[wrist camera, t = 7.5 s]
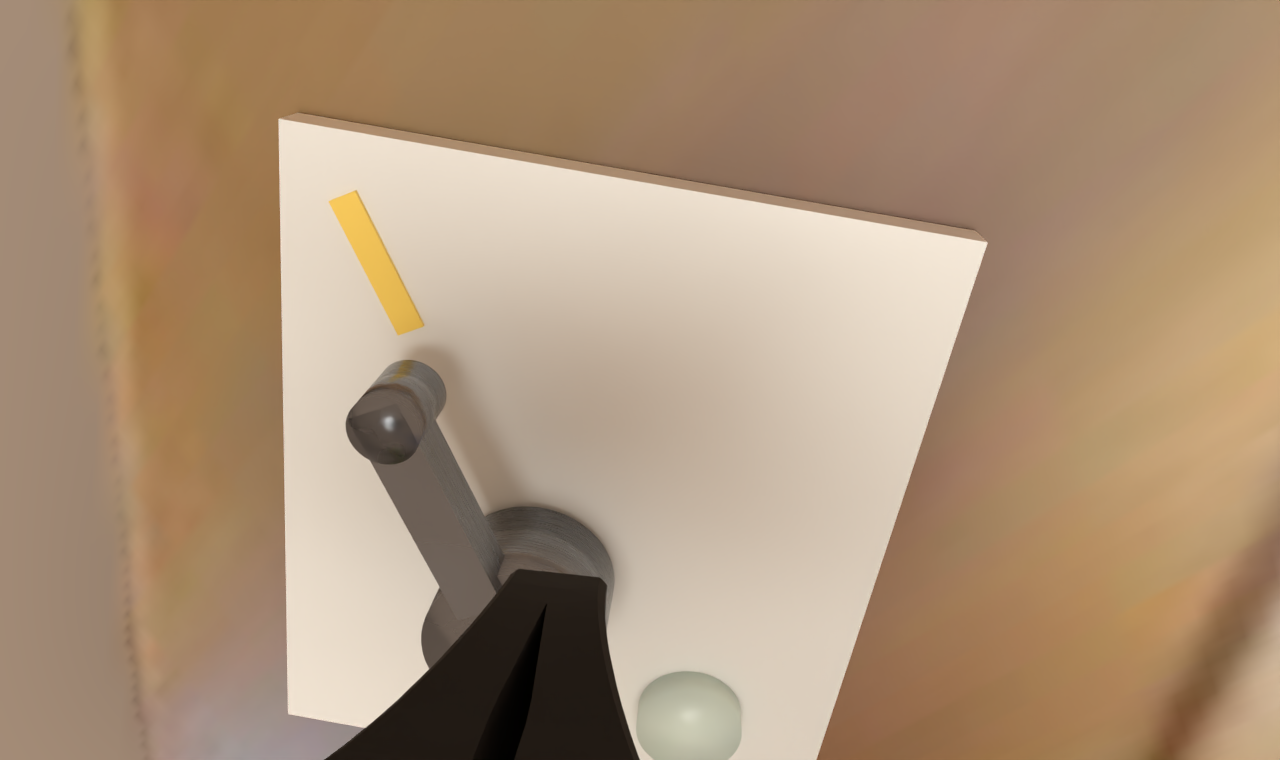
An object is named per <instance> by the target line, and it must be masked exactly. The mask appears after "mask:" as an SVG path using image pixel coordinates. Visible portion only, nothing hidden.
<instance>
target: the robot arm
mask: <svg viewBox="0 0 1280 760" xmlns="http://www.w3.org/2000/svg"><path fill="white" fill-rule="evenodd" d="M606 594H607V584H606V583H605V582H604V581H603V580H602V579H601V578H600V577H592V576H583V575H574V574H564V573H555V572H545V571H536V570H527V569H517V570H516V571H514V572H513V573H512V574H510V576H509V577H508V579H507V580H506V581H505V583H504V584H503V585H502V587H501V588H500V589H499V591H498V592H497V593H496V595H495V596H494V597H493V598H492V600H491V601H490V602H489V603H488V605H487V606H486V607H485V608H484V609H483V611H482V612H481V613H480V614H479V615H478V617H477V618H476V619H475V620H474V621H473V622H472V624H471V625H470V626H469V627H468V628H467V629H466V630H465V631H464V633H463V634H462V635H461V636H460V637H459V638H458V639H457V640H456V641H455V642H454V644H453V645H452V646H451V647H450V648H449V649H448V650H447V651H446V652H445V653H444V655H443V656H442V657H441V658H440V659H439V660H438V661H437V662H436V663H435V664H434V665H433V666H432V667H431V668H430V669H429V670H428V671H427V672H426V673H425V674H424V675H423V676H422V677H421V678H420V679H419V680H418V681H417V682H416V683H415V684H413V685H412V686H411V687H410V688H409V689H408V690H407V691H406V692H405V693H404V694H403V695H402V696H401V697H400V698H399V699H398V700H397V701H396V702H395V703H394V704H392V705H391V706H390V707H389V708H388V709H387V710H386V711H385V712H383V713H382V714H381V715H380V716H379V717H378V718H377V719H375V720H374V721H373V722H372V723H371V724H369V725H368V726H367V727H366V728H365V729H363V730H362V731H361V732H360V733H358V734H357V735H356V736H355V737H354V738H352V739H351V740H350V741H349V742H347V743H346V744H345V745H344V746H342V747H341V748H340V749H338V750H337V751H336V752H334V753H333V754H331V755H330V756H329V757H327V758H326V759H325V760H640V759H639V756H638V753H637V751H636V748H635V745H634V742H633V739H632V736H631V733H630V730H629V727H628V724H627V720H626V717H625V714H624V710H623V707H622V704H621V700H620V696H619V692H618V689H617V685H616V680H615V675H614V671H613V666H612V662H611V657H610V652H609V646H608V639H607V631H606V622H605V610H606Z"/></svg>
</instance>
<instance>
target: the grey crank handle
mask: <svg viewBox="0 0 1280 760" xmlns="http://www.w3.org/2000/svg"><path fill="white" fill-rule="evenodd" d="M445 403H446V388H445V385H444V382H443V380H442V379H441V377H440V376H439V375H438V373H437V372H436V371H435V370H433V369H432V368H431V367H429V366H428V365H426V364H424V363H422V362H419V361H415V360H400V361H397V362H394V363H392V364H391V365H389V366H388V367H387V368H386V369H385V370H384V371H383V372H382V373H381V375H380V376H379V377H378V378H377V379H376V380H375V382H374V383H373V384H372V385H371V386H370V387H369V389H368V390H367V391H366V392H365V393H364V394H363V396H362V397H361V398H360V399H359V400H358V401H357V403H356V404H355V405H354V406H353V407H352V408H351V410H350V411H349V413H348V415H347V418H346V433H347V436H348V439H349V441H350V443H351V444H352V446H353V447H354V448H355V450H356V451H357V452H358V453H360V454H361V455H362V456H363V457H365V458H367V459H369V460H370V462H371V464H372V465H373V467H374V469H375V471H376V473H377V474H378V476H379V478H380V480H381V482H382V484H383V485H384V487H385V489H386V491H387V493H388V494H389V496H390V498H391V500H392V502H393V504H394V505H395V507H396V509H397V511H398V513H399V514H400V516H401V518H402V520H403V522H404V523H405V525H406V527H407V529H408V531H409V533H410V534H411V536H412V538H413V540H414V542H415V543H416V545H417V547H418V549H419V551H420V552H421V554H422V556H423V558H424V560H425V562H426V563H427V565H428V567H429V569H430V571H431V572H432V574H433V576H434V578H435V580H436V582H437V583H438V585H439V589H438V591H437V593H436V595H435V597H434V599H433V602H432V604H431V606H430V608H429V610H428V613H427V615H426V617H425V620H424V623H423V626H422V632H421V646H422V652H423V655H424V658H425V661H426V664H427V666H428V668H429V669H430V668H431V667H432V666H433V665H434V664H435V663H436V662H437V661H438V660H439V659H440V658H441V657H442V656H443V655H444V653H445V652H446V651H447V650H448V649H449V648H450V647H451V646H452V645H453V644H454V642H455V641H456V640H457V639H458V638H459V637H460V636H461V635H462V634H463V633H464V631H465V630H466V629H467V628H468V627H469V626H470V625H471V624H472V622H473V621H474V620H475V619H476V618H477V617H478V615H479V614H480V613H481V612H482V611H483V609H484V608H485V607H486V606H487V605H488V603H489V602H490V601H491V600H492V598H493V597H494V596H495V595H496V593H497V592H498V591H499V589H500V588H501V587H502V585H503V584H504V583H505V581H506V580H507V579H508V577H509V576H510V574H512V573H513V572H514V571H516V570H517V569H527V570H536V571H545V572H555V573H564V574H574V575H583V576H592V577H600V578H601V579H602V580H603V581H604V582H605V583H606V584H607V594H606V610H605V622H606V631H607V626H608V620H609V614H610V608H611V603H612V597H613V591H614V582H615V580H614V570H613V565H612V562H611V559H610V557H609V555H608V553H607V551H606V549H605V547H604V546H603V544H602V543H601V542H600V540H599V539H598V538H597V537H596V536H595V535H594V534H593V533H592V532H591V531H590V530H589V529H588V528H586V527H585V526H584V525H583V524H581V523H580V522H578V521H576V520H575V519H573V518H571V517H569V516H567V515H565V514H562V513H560V512H557V511H554V510H550V509H546V508H540V507H527V506H521V507H511V508H507V509H502V510H499V511H496V512H493V513H491V514H489V515H487V516H484V514H483V512H482V510H481V508H480V506H479V504H478V502H477V500H476V498H475V496H474V494H473V492H472V490H471V489H470V487H469V485H468V483H467V481H466V479H465V477H464V475H463V473H462V471H461V469H460V467H459V465H458V463H457V461H456V459H455V457H454V455H453V453H452V451H451V449H450V447H449V445H448V443H447V441H446V439H445V437H444V435H443V434H442V432H441V430H440V428H439V426H438V424H437V422H436V419H437V417H438V416H439V414H440V413H441V411H442V410H443V408H444V406H445Z"/></svg>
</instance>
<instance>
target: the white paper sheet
mask: <svg viewBox="0 0 1280 760" xmlns="http://www.w3.org/2000/svg"><path fill="white" fill-rule="evenodd" d="M279 173H280V236H281V299H282V362H283V424H284V487H285V550H286V613H287V676H288V714H291V715H297V716H302V717H308V718H313V719H319V720H324V721H330V722H335V723H341V724H346V725H352V726H357V727H363V728H366V727H367V726H368V725H369V724H371V723H372V722H373V721H374V720H375V719H377V718H378V717H379V716H380V715H381V714H382V713H383V712H385V711H386V710H387V709H388V708H389V707H390V706H391V705H392V704H394V703H395V702H396V701H397V700H398V699H399V698H400V697H401V696H402V695H403V694H404V693H405V692H406V691H407V690H408V689H409V688H410V687H411V686H412V685H413V684H415V683H416V682H417V681H418V680H419V679H420V678H421V677H422V676H423V675H424V674H425V673H426V672H427V671H428V670H429V668H428V666H427V664H426V661H425V658H424V655H423V652H422V646H421V632H422V626H423V623H424V620H425V617H426V615H427V613H428V610H429V608H430V606H431V604H432V602H433V599H434V597H435V595H436V593H437V591H438V589H439V585H438V583H437V582H436V580H435V578H434V576H433V574H432V572H431V571H430V569H429V567H428V565H427V563H426V562H425V560H424V558H423V556H422V554H421V552H420V551H419V549H418V547H417V545H416V543H415V542H414V540H413V538H412V536H411V534H410V533H409V531H408V529H407V527H406V525H405V523H404V522H403V520H402V518H401V516H400V514H399V513H398V511H397V509H396V507H395V505H394V504H393V502H392V500H391V498H390V496H389V494H388V493H387V491H386V489H385V487H384V485H383V484H382V482H381V480H380V478H379V476H378V474H377V473H376V471H375V469H374V467H373V465H372V464H371V462H370V460H369V459H367V458H365V457H363V456H362V455H361V454H360V453H358V452H357V451H356V450H355V448H354V447H353V446H352V444H351V443H350V441H349V439H348V436H347V433H346V418H347V415H348V413H349V411H350V410H351V408H352V407H353V406H354V405H355V404H356V403H357V401H358V400H359V399H360V398H361V397H362V396H363V394H364V393H365V392H366V391H367V390H368V389H369V387H370V386H371V385H372V384H373V383H374V382H375V380H376V379H377V378H378V377H379V376H380V375H381V373H382V372H383V371H384V370H385V369H386V368H387V367H388V366H389V365H391V364H392V363H394V362H397V361H400V360H415V361H419V362H422V363H424V364H426V365H428V366H429V367H431V368H432V369H433V370H435V371H436V372H437V373H438V375H439V376H440V377H441V379H442V380H443V382H444V385H445V388H446V403H445V406H444V408H443V410H442V411H441V413H440V414H439V416H438V417H437V419H436V422H437V424H438V426H439V428H440V430H441V432H442V434H443V435H444V437H445V439H446V441H447V443H448V445H449V447H450V449H451V451H452V453H453V455H454V457H455V459H456V461H457V463H458V465H459V467H460V469H461V471H462V473H463V475H464V477H465V479H466V481H467V483H468V485H469V487H470V489H471V490H472V492H473V494H474V496H475V498H476V500H477V502H478V504H479V506H480V508H481V510H482V512H483V514H484V516H487V515H489V514H491V513H493V512H496V511H499V510H502V509H507V508H511V507H521V506H527V507H540V508H546V509H550V510H554V511H557V512H560V513H562V514H565V515H567V516H569V517H571V518H573V519H575V520H576V521H578V522H580V523H581V524H583V525H584V526H585V527H586V528H588V529H589V530H590V531H591V532H592V533H593V534H594V535H595V536H596V537H597V538H598V539H599V540H600V542H601V543H602V544H603V546H604V547H605V549H606V551H607V553H608V555H609V557H610V559H611V562H612V565H613V570H614V580H615V582H614V591H613V597H612V603H611V608H610V614H609V620H608V626H607V639H608V646H609V652H610V657H611V662H612V666H613V671H614V675H615V680H616V685H617V689H618V692H619V696H620V700H621V704H622V707H623V710H624V714H625V717H626V720H627V724H628V727H629V730H630V733H631V736H632V739H633V742H634V745H635V748H636V751H637V753H638V756H639V759H640V760H816V759H817V756H818V753H819V750H820V747H821V744H822V741H823V738H824V735H825V732H826V729H827V726H828V723H829V720H830V717H831V714H832V711H833V708H834V705H835V702H836V699H837V696H838V693H839V690H840V687H841V684H842V681H843V678H844V675H845V672H846V669H847V666H848V663H849V660H850V657H851V654H852V651H853V648H854V645H855V642H856V639H857V636H858V633H859V630H860V626H861V623H862V620H863V617H864V614H865V611H866V608H867V605H868V602H869V599H870V596H871V593H872V590H873V587H874V584H875V581H876V578H877V575H878V572H879V569H880V566H881V563H882V560H883V557H884V554H885V551H886V548H887V545H888V542H889V539H890V536H891V533H892V530H893V527H894V524H895V521H896V518H897V515H898V512H899V509H900V506H901V503H902V500H903V497H904V494H905V490H906V487H907V484H908V481H909V478H910V475H911V472H912V469H913V466H914V463H915V460H916V457H917V454H918V451H919V448H920V445H921V442H922V439H923V436H924V433H925V430H926V427H927V424H928V421H929V418H930V415H931V412H932V409H933V406H934V403H935V400H936V397H937V394H938V391H939V388H940V385H941V382H942V379H943V376H944V373H945V370H946V367H947V364H948V361H949V358H950V354H951V351H952V348H953V345H954V342H955V339H956V336H957V333H958V330H959V327H960V324H961V321H962V318H963V315H964V312H965V309H966V306H967V303H968V300H969V297H970V294H971V291H972V288H973V285H974V282H975V279H976V276H977V273H978V270H979V267H980V264H981V261H982V258H983V255H984V252H985V249H986V246H987V243H988V242H987V241H986V240H985V239H984V238H983V237H982V236H981V235H980V234H979V233H978V232H977V231H975V230H969V229H963V228H957V227H952V226H946V225H940V224H934V223H929V222H923V221H917V220H911V219H906V218H900V217H894V216H889V215H883V214H877V213H871V212H866V211H860V210H854V209H848V208H843V207H837V206H831V205H825V204H820V203H814V202H808V201H803V200H797V199H791V198H785V197H780V196H774V195H768V194H762V193H757V192H751V191H745V190H739V189H734V188H728V187H722V186H717V185H711V184H705V183H699V182H694V181H688V180H682V179H676V178H671V177H665V176H659V175H653V174H648V173H642V172H636V171H630V170H625V169H619V168H613V167H608V166H602V165H596V164H590V163H585V162H579V161H573V160H567V159H562V158H556V157H550V156H544V155H539V154H533V153H527V152H522V151H516V150H510V149H504V148H499V147H493V146H487V145H481V144H476V143H470V142H464V141H458V140H453V139H447V138H441V137H436V136H430V135H424V134H418V133H413V132H407V131H401V130H395V129H390V128H384V127H378V126H372V125H367V124H361V123H355V122H349V121H344V120H338V119H332V118H327V117H321V116H315V115H309V114H304V113H295V114H292V115H289V116H285V117H282V118H279Z"/></svg>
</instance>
